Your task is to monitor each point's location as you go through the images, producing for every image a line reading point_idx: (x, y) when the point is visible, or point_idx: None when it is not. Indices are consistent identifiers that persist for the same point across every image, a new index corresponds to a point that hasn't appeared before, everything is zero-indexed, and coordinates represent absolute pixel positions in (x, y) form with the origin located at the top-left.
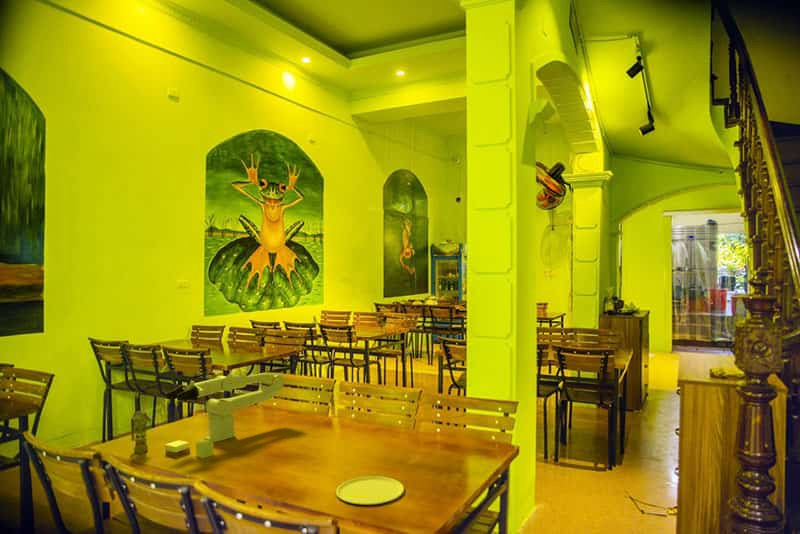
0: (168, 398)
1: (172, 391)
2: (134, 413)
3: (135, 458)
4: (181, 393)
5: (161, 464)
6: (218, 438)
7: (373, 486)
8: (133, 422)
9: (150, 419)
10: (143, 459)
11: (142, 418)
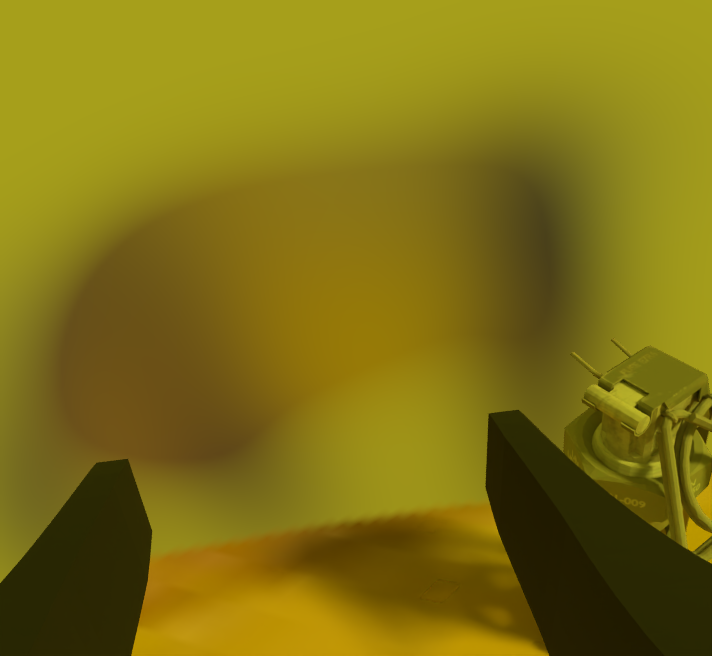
0: (493, 497)
1: (537, 486)
2: (644, 350)
3: (451, 556)
4: (57, 520)
5: (183, 650)
6: None
7: None
8: (700, 430)
9: (676, 540)
10: (389, 589)
11: (607, 439)
